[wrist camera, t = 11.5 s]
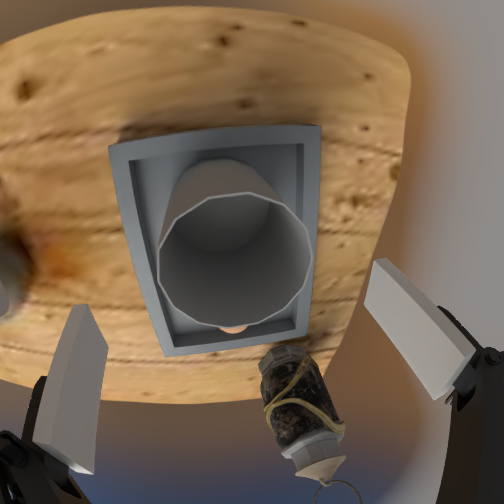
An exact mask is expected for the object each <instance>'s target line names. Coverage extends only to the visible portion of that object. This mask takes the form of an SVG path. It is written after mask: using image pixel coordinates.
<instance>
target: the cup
mask: <svg viewBox="0 0 504 504" xmlns="http://www.w3.org/2000/svg"><path fill="white" fill-rule="evenodd" d="M312 261H313V253H312V248H311V243H310V239H309V234H308V229H307V227H306V226H305V225H304V224H303V223H302V222H301V220H300V219H299V218H298V217H297V216H296V215H295V214H294V212H293V211H292V210H291V209H290V208H289V207H288V206H287V205H286V203H285V202H284V201H283V200H282V199H281V198H280V197H279V196H278V194H277V193H276V192H275V191H274V190H273V189H272V188H271V187H270V186H269V185H268V183H267V182H266V181H265V180H264V179H263V178H262V177H261V176H260V175H259V174H258V173H257V172H256V171H255V170H254V169H253V168H252V167H251V165H250V164H249V163H246V162H243V161H240V160H237V159H234V158H231V157H228V156H222V157H214V158H206V159H202V160H200V161H199V162H197V163H196V164H194V165H193V166H191V167H190V168H188V169H187V170H185V171H184V172H183V173H182V174H181V176H180V178H179V179H178V181H177V183H176V185H175V186H174V188H173V190H172V191H171V195H170V199H169V202H168V206H167V210H166V214H165V218H164V222H163V226H162V230H161V234H160V238H159V243H158V247H157V282H158V284H159V286H160V287H161V289H162V291H163V292H164V294H165V296H166V297H167V299H168V301H169V302H170V304H171V306H172V307H173V308H174V309H176V310H177V311H179V312H180V313H182V314H184V315H185V316H187V317H188V318H190V319H191V320H193V321H195V322H196V323H198V324H203V325H209V326H214V327H220V328H226V329H230V328H236V327H242V326H248V325H254V324H259V323H261V322H262V321H264V320H266V319H268V318H270V317H272V316H273V315H275V314H277V313H279V312H281V311H282V310H284V309H286V308H287V306H288V305H289V304H290V303H291V302H292V301H293V299H294V298H295V297H296V296H297V295H298V294H299V292H300V291H301V290H302V289H303V288H304V287H305V284H306V281H307V278H308V274H309V271H310V268H311V264H312Z"/></svg>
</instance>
